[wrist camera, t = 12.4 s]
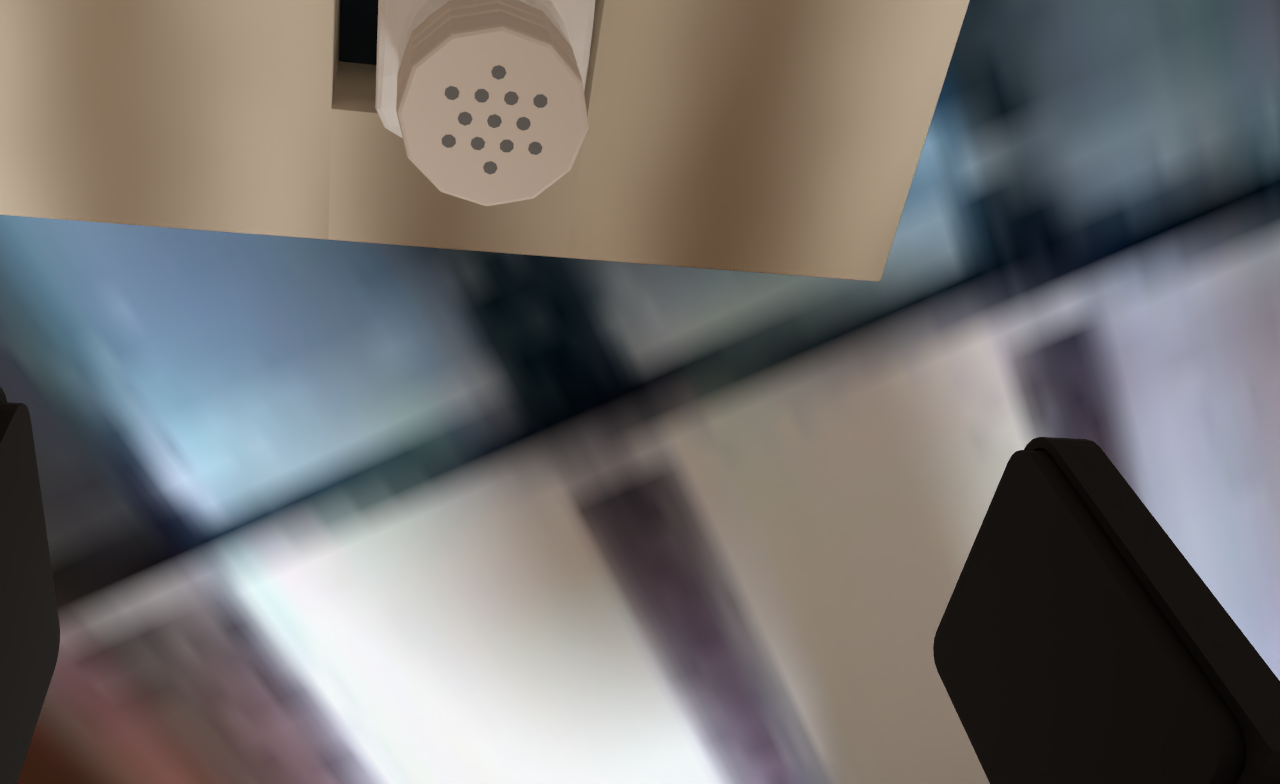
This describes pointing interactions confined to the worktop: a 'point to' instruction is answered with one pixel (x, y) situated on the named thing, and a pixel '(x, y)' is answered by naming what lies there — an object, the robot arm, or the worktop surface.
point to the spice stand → (423, 216)
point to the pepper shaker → (486, 91)
